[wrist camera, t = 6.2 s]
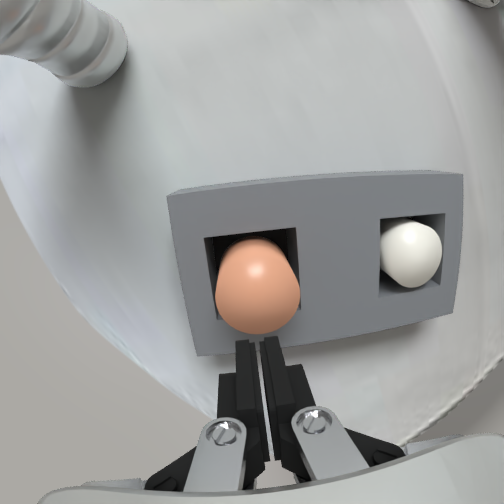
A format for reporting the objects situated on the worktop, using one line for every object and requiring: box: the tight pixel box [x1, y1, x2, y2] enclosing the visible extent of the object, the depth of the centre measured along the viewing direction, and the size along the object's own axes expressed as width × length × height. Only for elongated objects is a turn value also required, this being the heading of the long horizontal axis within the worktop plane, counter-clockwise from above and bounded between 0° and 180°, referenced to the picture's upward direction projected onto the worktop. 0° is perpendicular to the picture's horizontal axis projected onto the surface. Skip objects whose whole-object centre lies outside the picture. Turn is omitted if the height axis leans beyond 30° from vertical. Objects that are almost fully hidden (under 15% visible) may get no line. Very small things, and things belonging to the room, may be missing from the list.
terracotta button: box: [215, 236, 300, 334], centre depth 20 cm, size 5×5×5 cm
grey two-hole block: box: [167, 170, 463, 356], centre depth 23 cm, size 22×12×5 cm, turn 96°
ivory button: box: [380, 217, 442, 288], centre depth 23 cm, size 5×5×5 cm
